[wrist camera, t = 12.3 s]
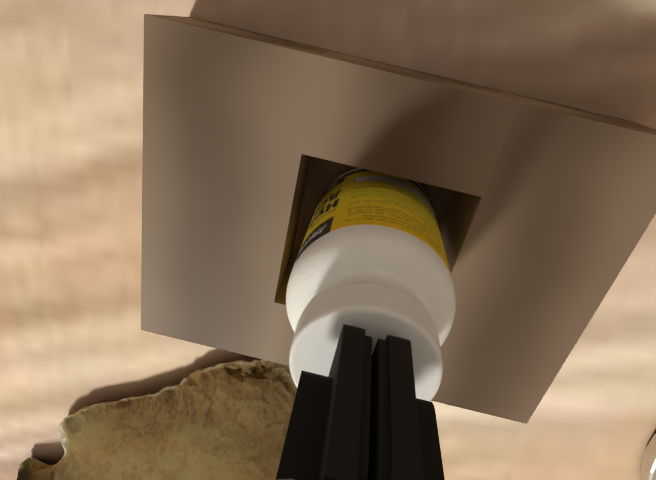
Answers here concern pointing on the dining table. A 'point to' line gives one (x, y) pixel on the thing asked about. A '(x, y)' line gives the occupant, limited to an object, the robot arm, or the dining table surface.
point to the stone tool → (181, 430)
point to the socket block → (388, 158)
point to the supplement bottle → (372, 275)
